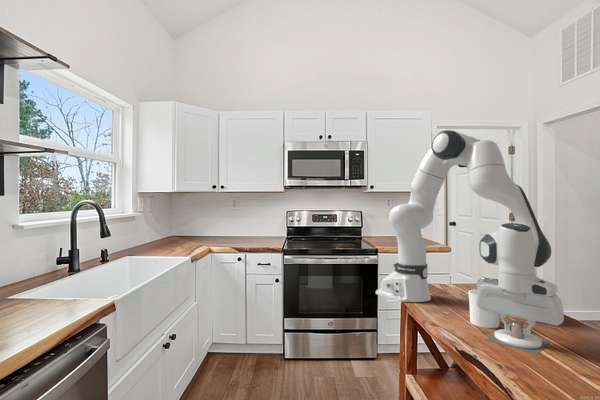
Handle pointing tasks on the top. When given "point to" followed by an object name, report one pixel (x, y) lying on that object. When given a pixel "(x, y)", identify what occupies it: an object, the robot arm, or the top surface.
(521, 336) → the lid
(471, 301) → the mug
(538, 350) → the mat
